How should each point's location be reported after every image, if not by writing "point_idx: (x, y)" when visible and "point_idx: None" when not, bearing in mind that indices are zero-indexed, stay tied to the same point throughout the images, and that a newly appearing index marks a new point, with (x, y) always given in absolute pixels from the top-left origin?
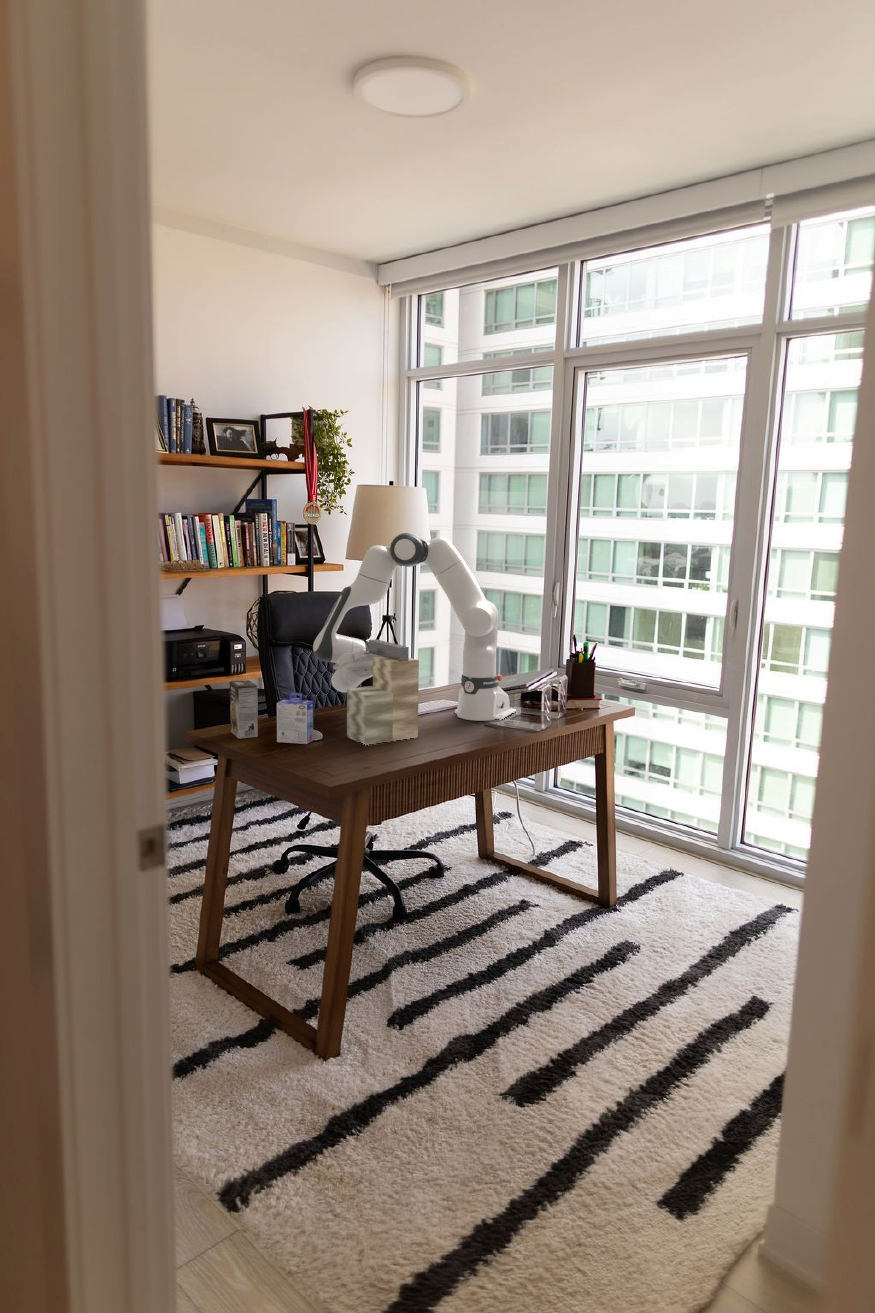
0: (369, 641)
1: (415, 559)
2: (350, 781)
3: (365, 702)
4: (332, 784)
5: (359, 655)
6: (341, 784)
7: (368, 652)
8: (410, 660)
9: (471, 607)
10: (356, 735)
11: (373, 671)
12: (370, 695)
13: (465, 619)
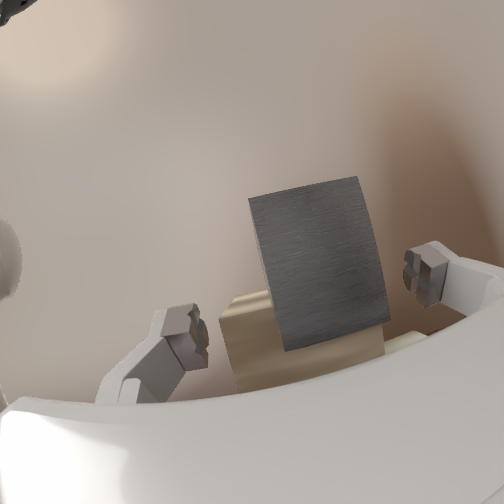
0: (355, 194)
1: (30, 3)
2: (428, 335)
3: None
4: (443, 328)
5: (461, 288)
6: (435, 330)
7: (390, 357)
8: (262, 290)
9: (1, 217)
10: None
11: (382, 348)
12: (403, 335)
13: (10, 244)
